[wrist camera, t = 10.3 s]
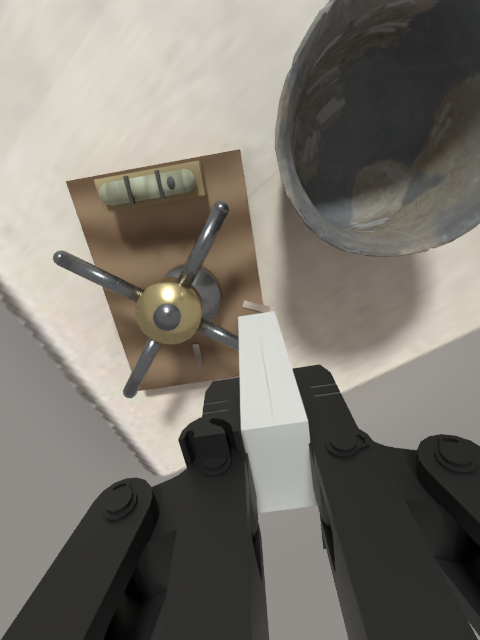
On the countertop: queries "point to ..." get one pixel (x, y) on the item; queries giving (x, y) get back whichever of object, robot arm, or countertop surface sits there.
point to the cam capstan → (168, 298)
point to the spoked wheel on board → (173, 252)
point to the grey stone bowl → (384, 125)
